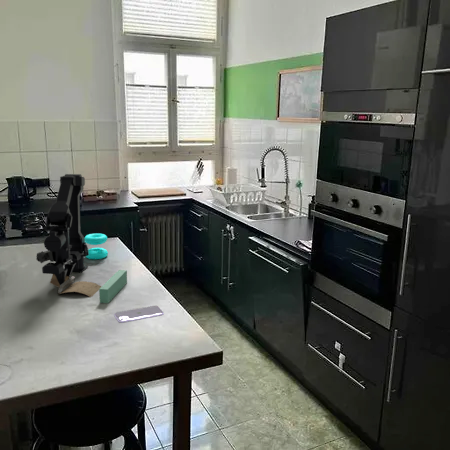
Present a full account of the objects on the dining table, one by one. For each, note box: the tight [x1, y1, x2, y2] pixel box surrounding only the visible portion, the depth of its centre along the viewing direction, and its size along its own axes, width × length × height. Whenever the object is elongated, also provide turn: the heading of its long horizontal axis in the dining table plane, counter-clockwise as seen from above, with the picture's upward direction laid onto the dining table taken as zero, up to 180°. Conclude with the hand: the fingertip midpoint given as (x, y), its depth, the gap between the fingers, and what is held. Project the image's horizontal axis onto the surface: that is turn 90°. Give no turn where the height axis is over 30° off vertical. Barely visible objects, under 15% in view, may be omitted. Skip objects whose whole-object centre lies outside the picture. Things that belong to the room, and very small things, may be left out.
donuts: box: [84, 232, 109, 260], centre depth 205 cm, size 10×10×10 cm
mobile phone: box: [113, 305, 165, 323], centre depth 149 cm, size 8×1×15 cm
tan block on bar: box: [49, 274, 76, 294], centre depth 168 cm, size 6×10×4 cm, turn 173°
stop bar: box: [98, 269, 128, 304], centre depth 166 cm, size 20×3×5 cm, turn 173°
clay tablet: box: [57, 280, 102, 298], centre depth 166 cm, size 14×10×3 cm
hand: (63, 284), depth 168 cm, fingers closed on tan block on bar, 3 cm apart
